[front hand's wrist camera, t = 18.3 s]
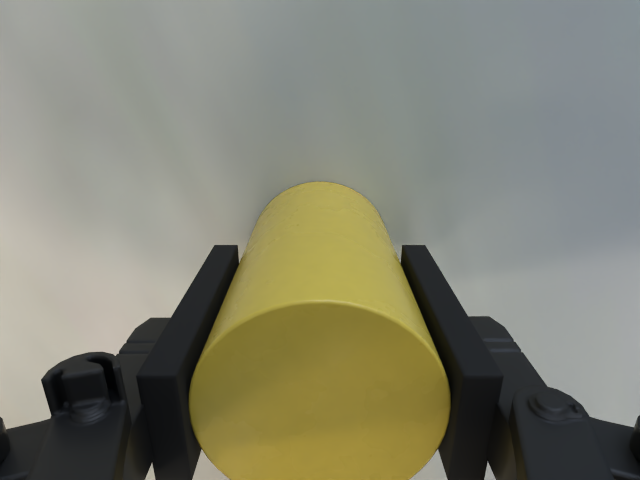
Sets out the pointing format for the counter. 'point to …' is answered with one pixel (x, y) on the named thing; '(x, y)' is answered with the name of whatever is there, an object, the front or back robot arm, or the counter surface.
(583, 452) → the front robot arm
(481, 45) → the counter surface
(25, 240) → the counter surface
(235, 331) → the yellow cylinder
